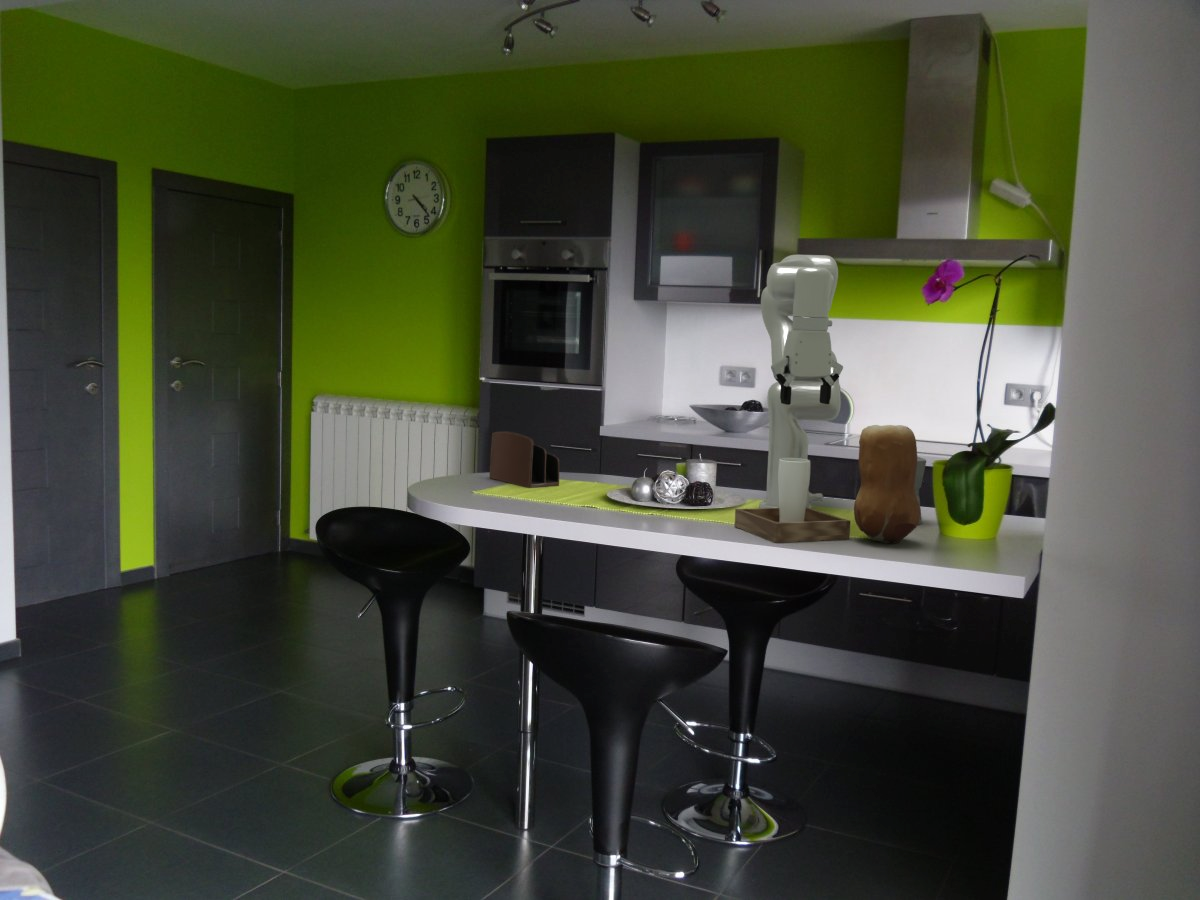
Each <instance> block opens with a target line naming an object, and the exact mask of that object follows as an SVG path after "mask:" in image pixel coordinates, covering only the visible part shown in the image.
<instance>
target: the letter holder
mask: <svg viewBox="0 0 1200 900" xmlns="http://www.w3.org/2000/svg"><path fill="white" fill-rule="evenodd" d="M490 445H491V448H490V462H489V463H490V464H489V479H490V480H495V481H498V482H502V483H507V484H510V485H516V486H519V487H523V488H527V489H534V488H548V487H559V486H560V459H559V458H558V457H557V455H555V454H552V453H550V452H547V450H546V449H545V447H542V446H540V445H536V444H534V440H533V438H531V437H529V436H526V435H524V434H521V433H517V432H514V431H495V432H492V434H491V444H490Z"/></svg>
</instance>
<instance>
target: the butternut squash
mask: <svg viewBox="0 0 1200 900" xmlns="http://www.w3.org/2000/svg"><path fill="white" fill-rule="evenodd" d="M858 444H859V448H858V469H859V474H860V487H859V490H858V493H857V495H856V498H855V500H854V504H853V506H854V507H853V517H854V521H855V523H856V526H857V527H858V529H859V531H861V532H863V533H864V534H865V535H866V536H867V537H868V538H870V539H872V541H876V542H880V543H884V544H892V545H893V544H896V543H899V542H901V541H902V540H903V539H905V538H906V537H907V536H909V535H910V534H911V533H913V531H914V530H916V528H918V526H919V525H918V523H919V519H920V516H921V517H922V513H921V514H920V508H921V505H920V506H919V503H918V500H917V497H916V493H915V476H916V469H917V457H918V447H917V440H916V436H915V434H914V432H913V430H912V429H911V428H910V427H908V426H907V425H903V424H902V425H901V424H895V425H893V424H887V425H886V424H885V425H878V424H873V425H868V426H865V427H864V428H863V429H862V430H861V432H860V437H859V443H858Z"/></svg>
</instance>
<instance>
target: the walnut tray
mask: <svg viewBox="0 0 1200 900" xmlns="http://www.w3.org/2000/svg"><path fill="white" fill-rule="evenodd" d="M851 523H852V522H851V519H850V520H849V519H845V518H843V517H840V516H836V515H833V514H830V513H827V512H823V511H820V510H818V509H815V508H812V507H811V508H808V507H806V510H805V518H804V522H783V523H779V508H760V507H757V508H756V507H754V508H735V512H734V528H736V527H738V528H737V529H739V528H741V529H743V530H742V531H744V530H745V532H747V531H748V532H747V533H749V534H752V535H754V536H757V537H759V538H762V539H765V540H768V541H770V542H773V543H775V544H776V543H777V544H778V543H799V542H798V541H803V542H818V541H819V542H821V540H824V541H840V540H841V541H842V540H843V541H844V540H846V541H847V540H850V538H851V536H850V535H851ZM741 529H740V530H741Z"/></svg>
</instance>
